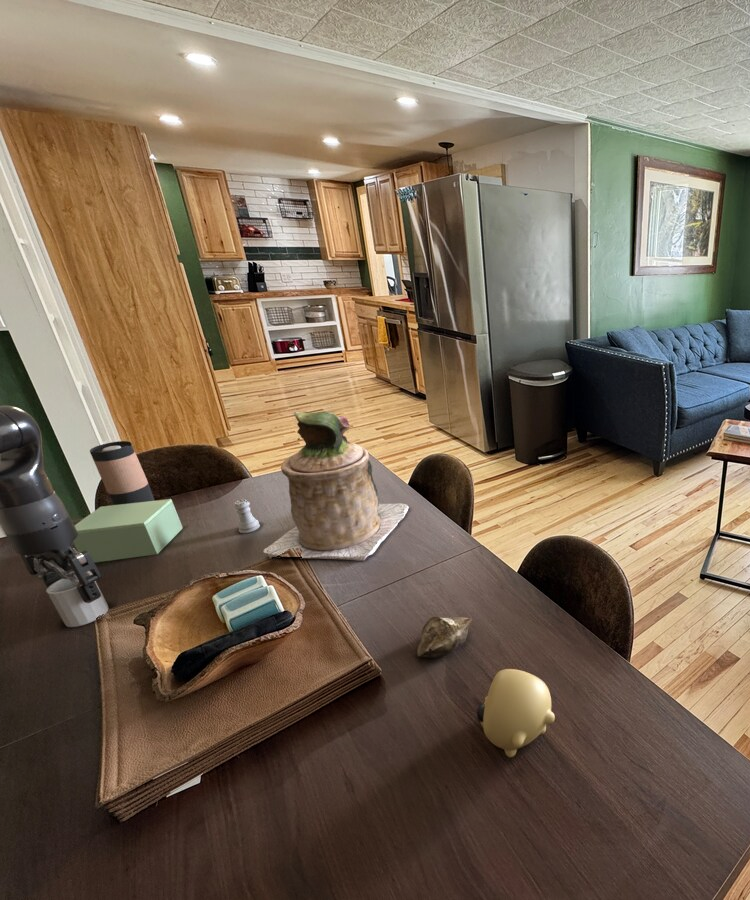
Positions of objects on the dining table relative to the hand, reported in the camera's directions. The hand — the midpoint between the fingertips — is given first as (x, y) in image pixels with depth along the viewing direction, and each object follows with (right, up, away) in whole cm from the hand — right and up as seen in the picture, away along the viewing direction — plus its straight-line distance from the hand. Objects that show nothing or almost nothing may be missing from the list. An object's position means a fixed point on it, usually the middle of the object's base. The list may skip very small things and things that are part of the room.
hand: (77, 596), depth 88 cm
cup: (0, -5, +2) cm, 5 cm away
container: (-12, +5, +24) cm, 27 cm away
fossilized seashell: (+70, -8, -4) cm, 71 cm away
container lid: (-12, +12, +21) cm, 27 cm away
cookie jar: (+34, +7, +29) cm, 45 cm away
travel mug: (-23, +10, +36) cm, 44 cm away
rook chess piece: (+10, +7, +31) cm, 33 cm away
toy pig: (+86, -14, -19) cm, 89 cm away
